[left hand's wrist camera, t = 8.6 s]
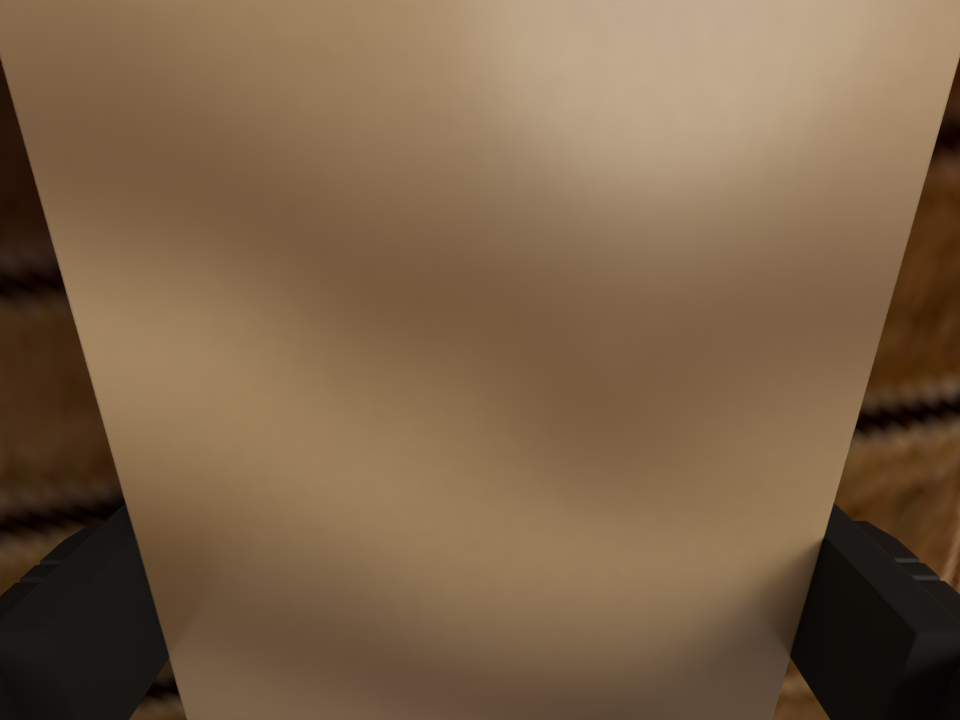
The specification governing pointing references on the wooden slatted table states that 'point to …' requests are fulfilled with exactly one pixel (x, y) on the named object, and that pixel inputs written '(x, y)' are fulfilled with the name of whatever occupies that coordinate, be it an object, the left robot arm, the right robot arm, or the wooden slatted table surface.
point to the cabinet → (479, 329)
